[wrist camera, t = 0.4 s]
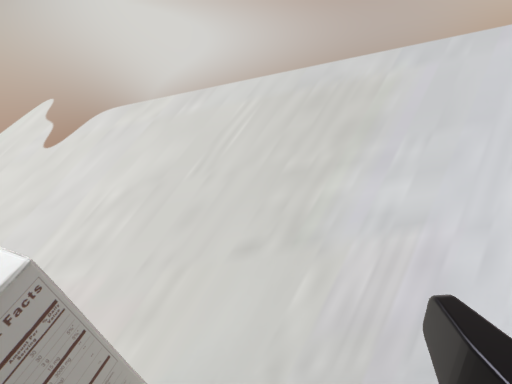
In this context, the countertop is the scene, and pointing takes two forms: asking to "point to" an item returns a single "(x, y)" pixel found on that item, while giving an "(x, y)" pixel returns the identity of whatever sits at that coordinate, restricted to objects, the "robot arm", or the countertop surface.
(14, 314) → the supplement box
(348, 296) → the countertop surface
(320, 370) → the countertop surface
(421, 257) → the countertop surface
